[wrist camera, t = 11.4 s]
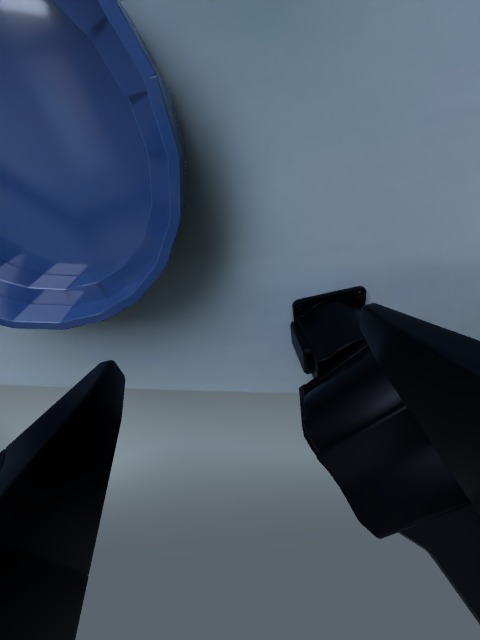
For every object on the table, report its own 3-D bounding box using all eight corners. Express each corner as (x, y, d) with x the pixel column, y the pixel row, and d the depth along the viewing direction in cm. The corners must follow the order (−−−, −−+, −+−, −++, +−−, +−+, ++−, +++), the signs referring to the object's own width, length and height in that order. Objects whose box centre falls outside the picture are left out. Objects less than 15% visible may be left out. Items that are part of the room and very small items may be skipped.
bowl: (97, -181, 9) (27, -382, 6) (216, 266, 20) (219, 294, 16) (-352, -55, 10) (-675, -166, 6) (-2, 316, 21) (-47, 354, 17)
